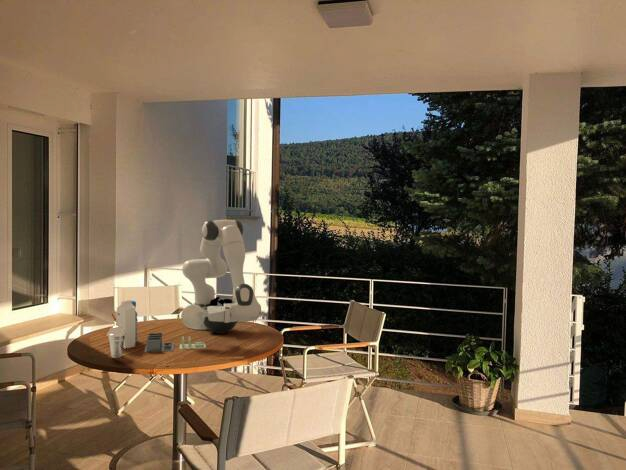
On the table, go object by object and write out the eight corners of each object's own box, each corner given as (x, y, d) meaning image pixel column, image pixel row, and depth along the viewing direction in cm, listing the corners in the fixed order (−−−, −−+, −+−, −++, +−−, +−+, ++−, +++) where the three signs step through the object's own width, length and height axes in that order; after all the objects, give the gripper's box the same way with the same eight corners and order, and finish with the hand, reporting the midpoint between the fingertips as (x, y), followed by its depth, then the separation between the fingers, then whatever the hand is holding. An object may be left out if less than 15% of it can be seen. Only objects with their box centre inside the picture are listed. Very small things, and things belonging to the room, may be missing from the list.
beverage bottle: (131, 344, 257) (131, 303, 256) (115, 343, 258) (116, 302, 258) (140, 340, 265) (140, 300, 265) (125, 339, 267) (125, 299, 266)
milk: (116, 347, 250) (116, 301, 249) (126, 344, 255) (126, 299, 255) (125, 349, 247) (125, 302, 246) (135, 346, 252) (135, 300, 252)
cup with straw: (129, 354, 238) (129, 310, 237) (122, 359, 229) (123, 313, 228) (110, 353, 237) (110, 309, 237) (103, 359, 228) (103, 313, 228)
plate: (181, 327, 250) (181, 304, 250) (205, 326, 253) (204, 303, 252) (181, 328, 248) (180, 305, 248) (205, 327, 251) (204, 304, 250)
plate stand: (179, 346, 254) (179, 336, 253) (205, 345, 256) (205, 335, 256) (179, 351, 245) (179, 340, 245) (205, 350, 248) (206, 339, 247)
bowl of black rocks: (235, 337, 276) (236, 301, 275) (197, 336, 276) (198, 300, 276) (241, 329, 296) (242, 296, 295) (206, 328, 296) (206, 295, 296)
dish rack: (146, 346, 253) (146, 333, 253) (174, 345, 256) (174, 332, 256) (144, 354, 238) (144, 340, 238) (173, 353, 241) (174, 339, 241)
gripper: (225, 302, 264) (197, 303, 261) (228, 310, 244) (198, 310, 241) (225, 315, 264) (197, 315, 261) (228, 323, 244) (198, 324, 241)
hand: (197, 313), depth 251 cm, fingers closed on plate, 2 cm apart
